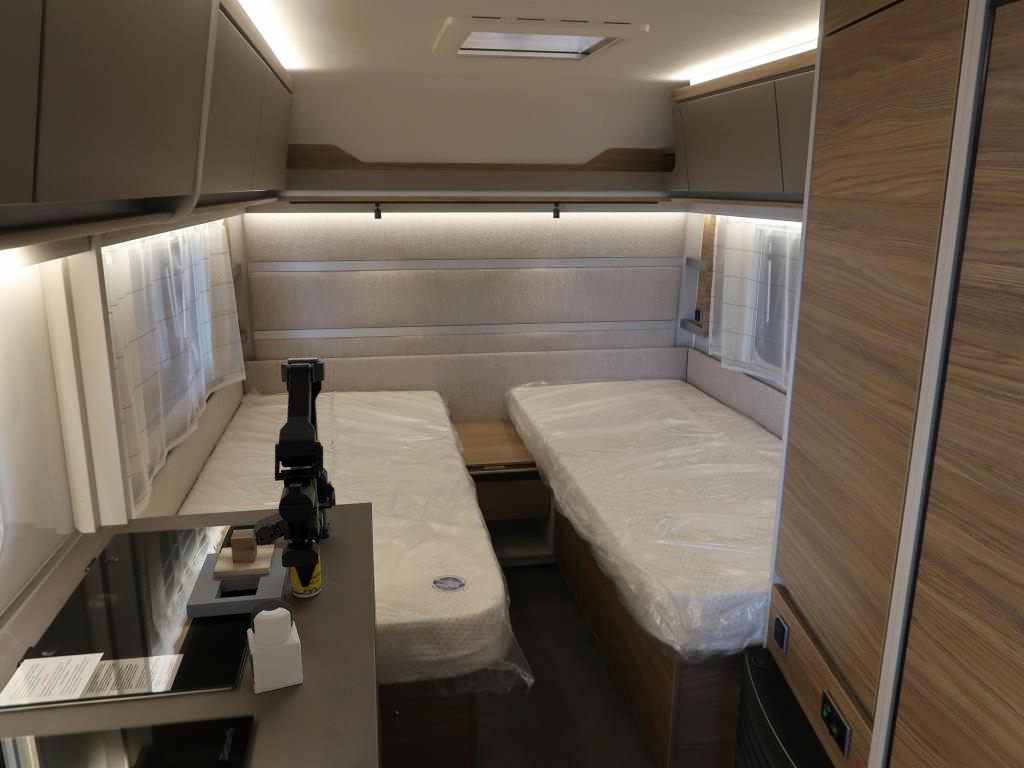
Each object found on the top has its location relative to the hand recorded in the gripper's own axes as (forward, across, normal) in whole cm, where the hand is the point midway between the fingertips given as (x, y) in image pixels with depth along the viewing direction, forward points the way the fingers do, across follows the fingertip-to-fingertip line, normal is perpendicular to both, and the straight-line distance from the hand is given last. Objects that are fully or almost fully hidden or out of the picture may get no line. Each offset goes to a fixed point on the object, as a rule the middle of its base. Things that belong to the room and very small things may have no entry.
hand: (306, 578), depth 145 cm
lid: (0, -9, -12) cm, 15 cm away
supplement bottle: (+3, 0, 0) cm, 3 cm away
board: (+2, -4, -12) cm, 13 cm away
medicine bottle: (+3, +26, -3) cm, 26 cm away
